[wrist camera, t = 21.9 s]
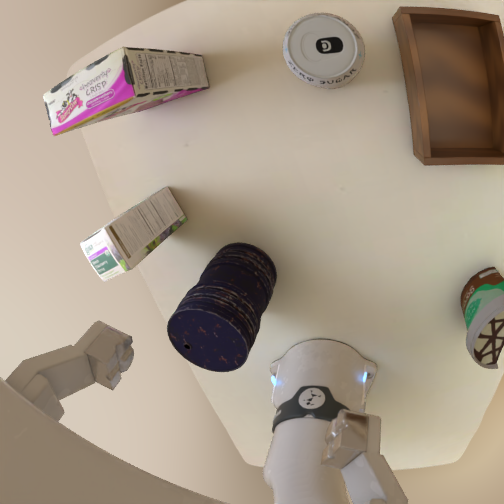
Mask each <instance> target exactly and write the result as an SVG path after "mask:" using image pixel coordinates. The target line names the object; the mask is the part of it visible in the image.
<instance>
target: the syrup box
mask: <svg viewBox="0 0 504 504" xmlns="http://www.w3.org/2000/svg"><path fill="white" fill-rule="evenodd" d="M185 221H187V218H186V216H185V215H184V213H183V211H182V210H181V208H180V206H179V205H178V203H177V202H176V200H175V198H174V197H173V195H172V193H171V192H170V190H169V188H168V187H165V188H163V189H162V190H160V191H158V192H156V193H155V194H153V195H151V196H150V197H148V198H146V199H145V200H143V201H142V202H140V203H138V204H137V205H135V206H134V207H132V208H131V209H129V210H127V211H126V212H124V213H123V214H121V215H120V216H118V217H117V218H115V219H114V220H112V221H111V222H109V223H108V224H106V225H105V226H103V227H102V228H100V229H99V230H98V231H96V232H95V233H93V234H92V235H90V236H89V237H88V238H86V239H85V240H84V241H82V242H81V243H80V245H81V247H82V249H83V251H84V253H85V255H86V257H87V259H88V260H89V262H90V264H91V265H92V267H93V268H94V269H95V271H96V272H97V274H98V275H99V276H100V277H101V279H102V280H103V281H104V282H105V281H107V280H109V279H111V278H114V277H116V276H118V275H120V274H122V273H124V272H127V271H129V270H131V269H133V268H134V267H135V266H136V265H138V264H139V263H140V262H141V261H142V260H143V259H144V258H145V257H146V256H147V255H148V254H150V253H151V252H152V251H153V250H154V249H155V248H156V247H157V246H158V245H159V244H161V243H162V242H163V241H164V240H165V239H166V238H167V237H168V236H170V235H171V234H172V233H173V232H174V231H175V230H176V229H177V228H179V227H180V226H181V225H182V224H183V223H184V222H185Z"/></svg>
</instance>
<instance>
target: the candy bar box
mask: <svg viewBox="0 0 504 504" xmlns="http://www.w3.org/2000/svg"><path fill="white" fill-rule="evenodd" d="M208 88H209V83H208V79H207V76H206V72H205V67H204V62H203V58H202V55H198V54H192V53H184V52H176V51H167V50H157V49H144V48H128V47H122V48H120V49H118V50H116V51H114V52H112V53H110V54H109V55H106V56H105V57H103V58H101V59H99V60H97V61H95V62H94V63H92V64H90V65H89V66H87V67H85V68H83V69H82V70H80V71H78V72H77V73H75V74H74V75H72V76H71V77H69V78H67V79H66V80H64V81H63V82H61V83H59V84H58V85H57V86H55V87H54V88H52V89H51V90H49V91H48V92H47V93H45V94H44V95H43V97H44V101H45V106H46V109H47V114H48V117H49V120H50V127H51V130H52V132H53V135H54V136H57V135H59V134H62V133H65V132H68V131H71V130H74V129H77V128H81V127H84V126H87V125H91V124H94V123H97V122H101V121H104V120H108V119H111V118H115V117H119V116H123V115H127V114H131V113H135V112H140V111H142V110H145V109H148V108H151V107H153V106H156V105H159V104H162V103H165V102H168V101H171V100H174V99H177V98H180V97H183V96H186V95H189V94H192V93H195V92H198V91H201V90H205V89H208Z"/></svg>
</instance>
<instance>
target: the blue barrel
mask: <svg viewBox="0 0 504 504" xmlns="http://www.w3.org/2000/svg"><path fill="white" fill-rule="evenodd" d="M276 278H277V274H276V269H275V266H274V264H273V262H272V260H271V259H270V257H269V256H268V255H267V254H266V253H265V252H263V251H262V250H261V249H259V248H257V247H255V246H253V245H250V244H246V243H232V244H229V245H227V246H225V247H223V248H222V249H220V250H219V252H218V253H217V254H216V256H215V257H214V258H213V259H212V260H211V261H210V262H209V264H208V265H207V267H206V268H205V270H204V272H203V273H202V275H201V277H200V280H199V282H198V283H197V285H195V286H194V287H193V288H192V289H190V290H189V291H188V292H187V294H186V296H185V297H184V298H183V300H182V301H181V302H180V304H179V306H178V307H177V309H176V311H175V313H174V314H173V315H172V316H171V318H170V320H169V321H168V325H167V332H168V336H169V339H170V341H171V343H172V345H173V346H174V347H175V349H176V350H177V351H178V352H179V353H180V354H181V355H182V356H183V357H184V358H185V359H187V360H188V361H190V362H191V363H193V364H195V365H197V366H199V367H201V368H204V369H207V370H210V371H215V372H229V371H233V370H236V369H238V368H240V367H241V366H242V365H243V364H244V363H245V362H246V360H247V357H248V355H249V352H250V350H251V348H252V346H253V344H254V342H255V339H256V336H257V334H258V332H259V329H260V321H261V319H260V318H261V316H262V314H263V312H264V311H265V310H266V308H267V306H268V304H269V301H270V299H271V296H272V294H273V288H274V286H275V283H276Z"/></svg>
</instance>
